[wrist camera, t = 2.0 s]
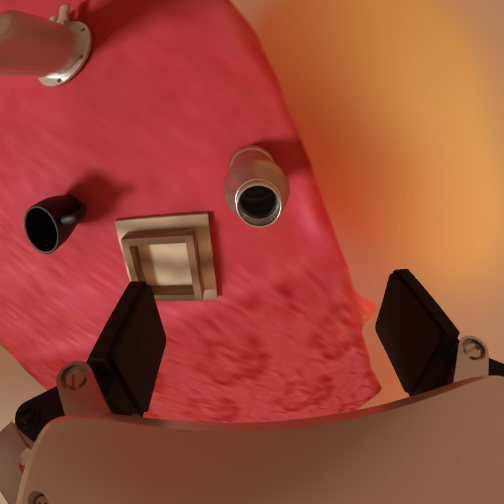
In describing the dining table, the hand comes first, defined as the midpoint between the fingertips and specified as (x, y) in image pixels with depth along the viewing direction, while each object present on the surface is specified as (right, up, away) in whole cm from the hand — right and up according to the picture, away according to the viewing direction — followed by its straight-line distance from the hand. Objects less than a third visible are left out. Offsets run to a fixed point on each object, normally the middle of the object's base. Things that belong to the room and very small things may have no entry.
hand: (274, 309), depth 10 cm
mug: (-32, +10, +30) cm, 45 cm away
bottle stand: (-15, +1, +35) cm, 39 cm away
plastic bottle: (-1, +15, +29) cm, 32 cm away
